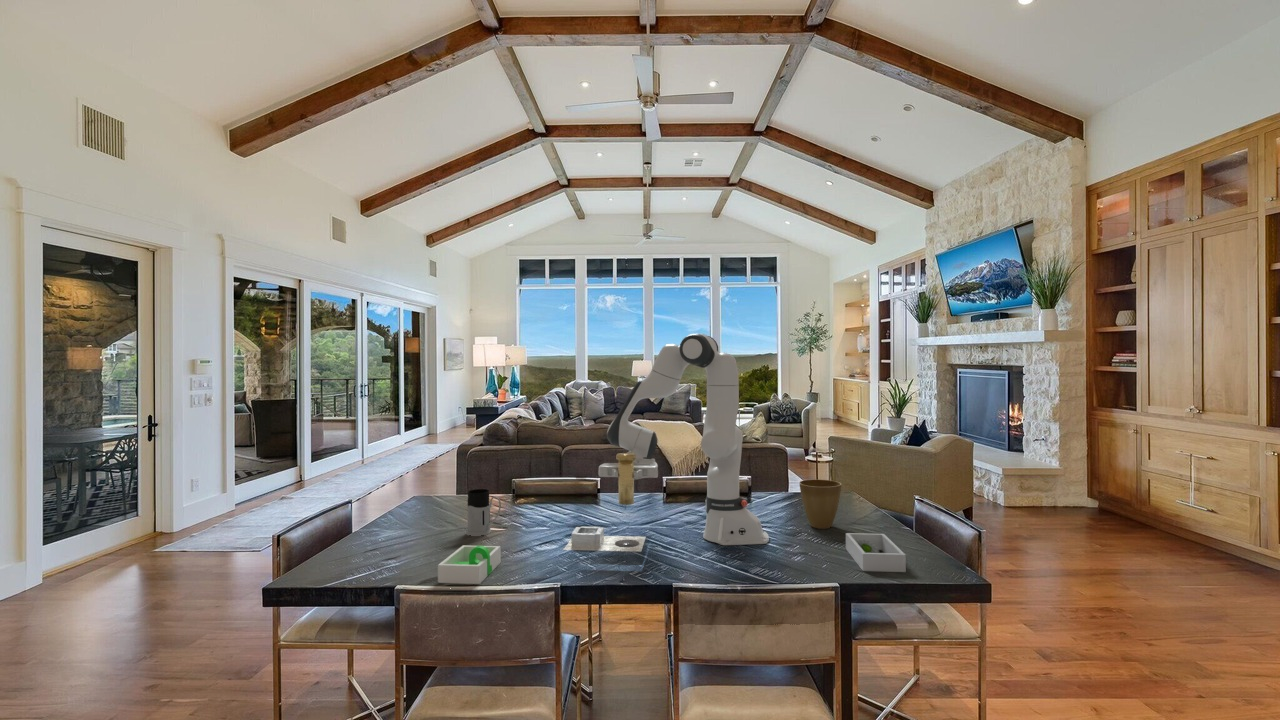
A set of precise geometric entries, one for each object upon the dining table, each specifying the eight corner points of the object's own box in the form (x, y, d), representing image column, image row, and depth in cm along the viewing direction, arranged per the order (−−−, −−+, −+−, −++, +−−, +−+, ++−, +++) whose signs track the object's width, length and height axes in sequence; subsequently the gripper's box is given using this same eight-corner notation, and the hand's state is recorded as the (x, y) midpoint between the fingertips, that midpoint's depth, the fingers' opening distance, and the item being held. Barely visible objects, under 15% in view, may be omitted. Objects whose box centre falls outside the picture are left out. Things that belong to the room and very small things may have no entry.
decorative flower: (887, 545, 178) (856, 531, 192) (873, 561, 176) (843, 546, 191) (903, 562, 179) (871, 547, 193) (889, 579, 178) (859, 562, 192)
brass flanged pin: (637, 501, 203) (636, 453, 203) (634, 505, 197) (634, 456, 197) (618, 500, 204) (617, 452, 204) (615, 505, 197) (615, 456, 197)
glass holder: (477, 528, 225) (477, 487, 225) (508, 532, 219) (508, 491, 219) (461, 534, 218) (460, 492, 218) (492, 539, 211) (492, 496, 211)
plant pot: (846, 524, 226) (845, 481, 226) (835, 534, 214) (835, 488, 214) (806, 518, 234) (806, 477, 234) (794, 528, 222) (793, 484, 222)
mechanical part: (494, 568, 181) (493, 541, 181) (488, 575, 175) (487, 547, 175) (454, 568, 182) (454, 541, 182) (447, 575, 176) (446, 547, 176)
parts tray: (500, 562, 187) (500, 546, 187) (479, 584, 169) (479, 566, 169) (463, 561, 188) (462, 545, 188) (437, 582, 170) (437, 565, 170)
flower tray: (884, 549, 196) (883, 533, 196) (905, 572, 175) (905, 554, 175) (845, 548, 197) (845, 533, 197) (862, 571, 177) (862, 553, 177)
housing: (645, 541, 208) (645, 525, 208) (641, 556, 192) (641, 538, 192) (573, 539, 210) (573, 523, 210) (563, 554, 194) (563, 537, 194)
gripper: (601, 457, 214) (594, 464, 200) (659, 458, 212) (656, 465, 198) (601, 475, 214) (594, 483, 200) (659, 476, 212) (656, 484, 198)
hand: (625, 474), depth 199 cm, fingers closed on brass flanged pin, 5 cm apart
